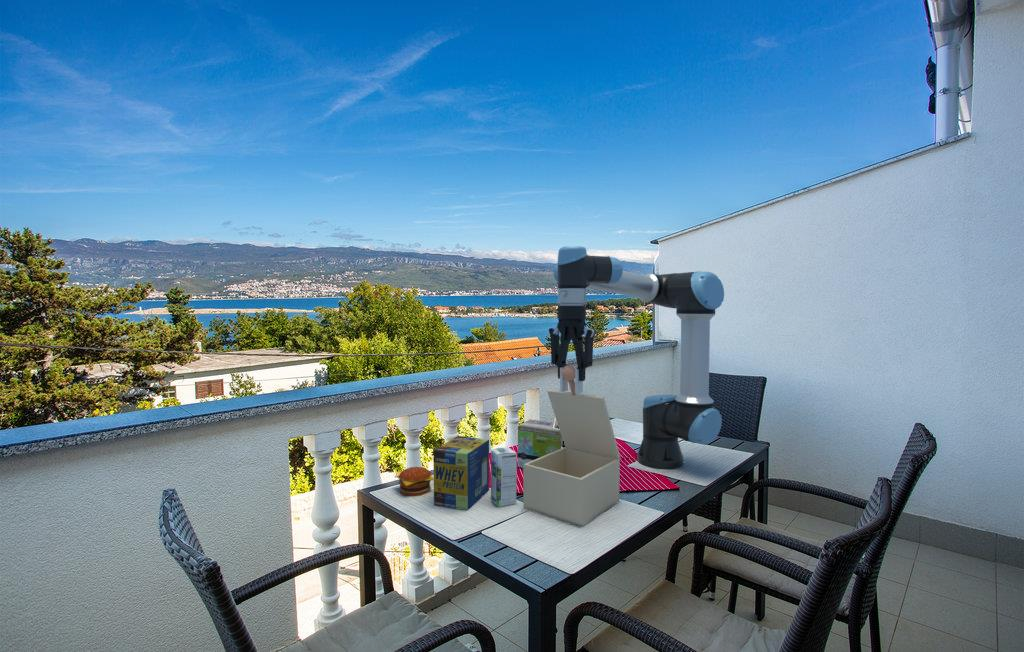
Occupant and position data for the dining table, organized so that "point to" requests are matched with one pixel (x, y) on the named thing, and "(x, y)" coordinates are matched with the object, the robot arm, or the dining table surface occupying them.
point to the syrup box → (503, 476)
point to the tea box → (537, 440)
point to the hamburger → (415, 481)
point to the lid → (583, 419)
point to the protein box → (461, 472)
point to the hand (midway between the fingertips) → (571, 391)
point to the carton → (571, 485)
